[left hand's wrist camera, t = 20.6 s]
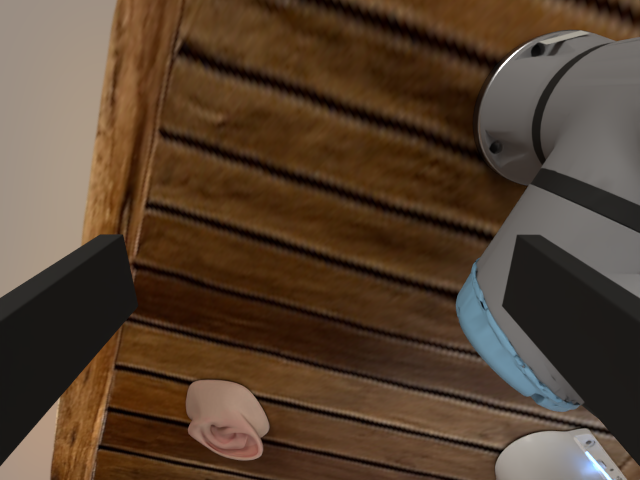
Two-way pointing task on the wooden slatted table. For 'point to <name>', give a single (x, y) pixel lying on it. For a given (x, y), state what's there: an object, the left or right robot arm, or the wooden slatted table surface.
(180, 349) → the wooden slatted table surface
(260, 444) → the anatomical model
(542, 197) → the left robot arm
